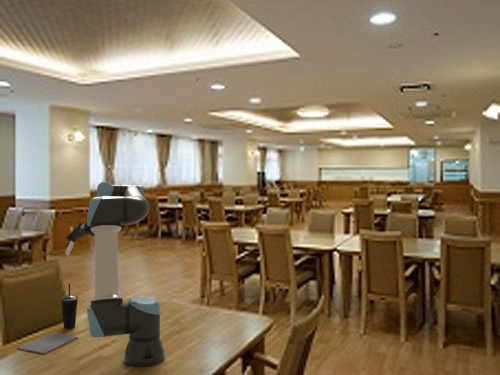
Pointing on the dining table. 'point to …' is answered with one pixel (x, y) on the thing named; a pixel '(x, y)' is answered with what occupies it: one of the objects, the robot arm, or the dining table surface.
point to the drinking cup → (69, 310)
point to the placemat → (48, 343)
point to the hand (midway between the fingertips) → (79, 256)
